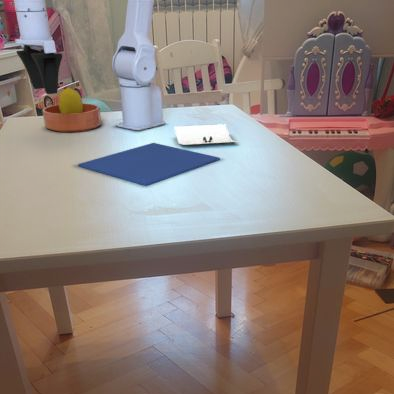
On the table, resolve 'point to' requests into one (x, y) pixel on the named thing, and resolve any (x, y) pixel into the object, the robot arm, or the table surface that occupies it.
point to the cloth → (149, 163)
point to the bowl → (72, 119)
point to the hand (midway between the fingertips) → (45, 90)
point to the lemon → (70, 102)
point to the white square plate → (202, 134)
